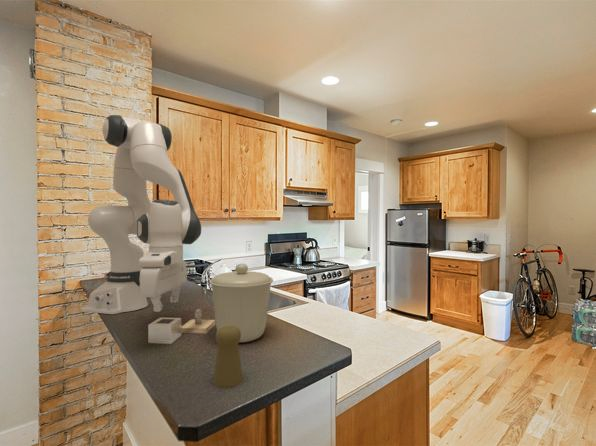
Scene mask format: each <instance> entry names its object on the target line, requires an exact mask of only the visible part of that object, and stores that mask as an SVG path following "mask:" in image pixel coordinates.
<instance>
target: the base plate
mask: <svg viewBox="0 0 596 446" xmlns="http://www.w3.org/2000/svg"><path fill="white" fill-rule="evenodd" d="M202 313H203V312H202V310H201V308H198V309H196V310H195V312H194V318H193V319H189V320H188V321H187V322H186V323H185V324H182V325H181V334H208V333H209V332H210V331H211V329H213V328H214V327H215V326H216V319H203V314H202Z"/></svg>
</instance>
